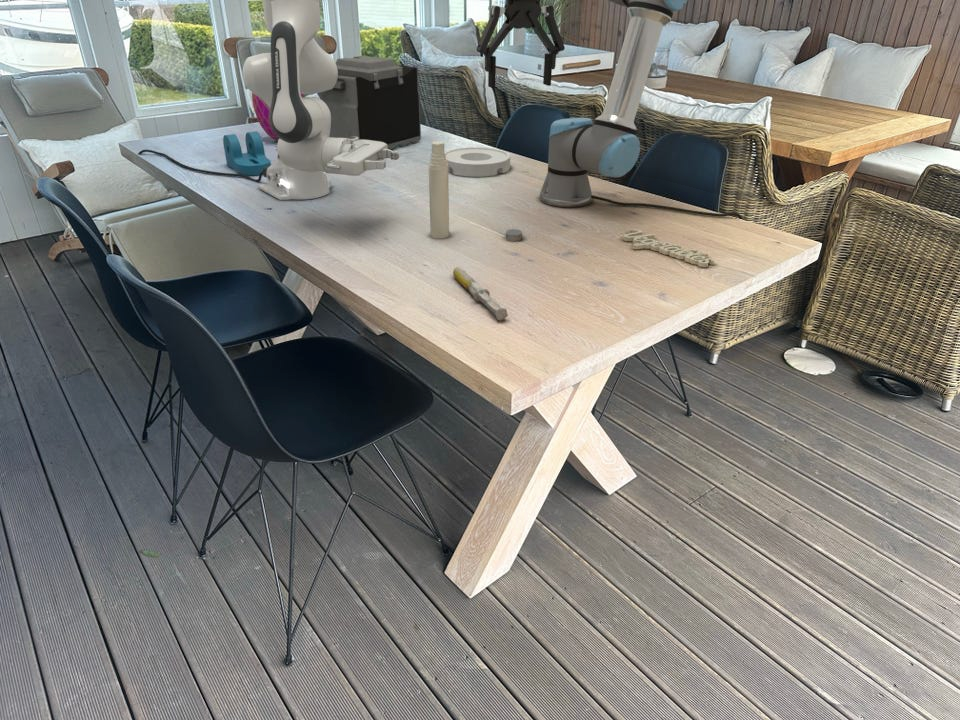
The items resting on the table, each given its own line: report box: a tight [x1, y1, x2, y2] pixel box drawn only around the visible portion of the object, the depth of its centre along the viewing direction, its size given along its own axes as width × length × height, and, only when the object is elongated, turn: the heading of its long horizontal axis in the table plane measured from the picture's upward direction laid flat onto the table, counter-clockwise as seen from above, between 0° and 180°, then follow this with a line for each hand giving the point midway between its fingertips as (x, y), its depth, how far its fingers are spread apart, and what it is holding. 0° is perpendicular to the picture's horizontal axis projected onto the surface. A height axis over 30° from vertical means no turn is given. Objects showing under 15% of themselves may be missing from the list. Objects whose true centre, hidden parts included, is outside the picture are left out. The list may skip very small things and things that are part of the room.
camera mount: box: [222, 131, 272, 176], centre depth 226 cm, size 18×10×10 cm, turn 35°
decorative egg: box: [251, 92, 306, 141], centre depth 257 cm, size 19×19×30 cm
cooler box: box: [316, 55, 422, 150], centre depth 250 cm, size 37×22×30 cm, turn 144°
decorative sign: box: [622, 228, 715, 268], centre depth 169 cm, size 26×1×10 cm
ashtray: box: [444, 146, 511, 178], centre depth 232 cm, size 23×23×4 cm
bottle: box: [428, 140, 450, 239], centre depth 171 cm, size 5×5×23 cm
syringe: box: [452, 266, 509, 321], centre depth 145 cm, size 25×4×3 cm, turn 21°
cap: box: [505, 228, 523, 242], centre depth 175 cm, size 4×4×2 cm
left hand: (391, 160), depth 170 cm, fingers open, 8 cm apart
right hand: (519, 86), depth 157 cm, fingers open, 13 cm apart
